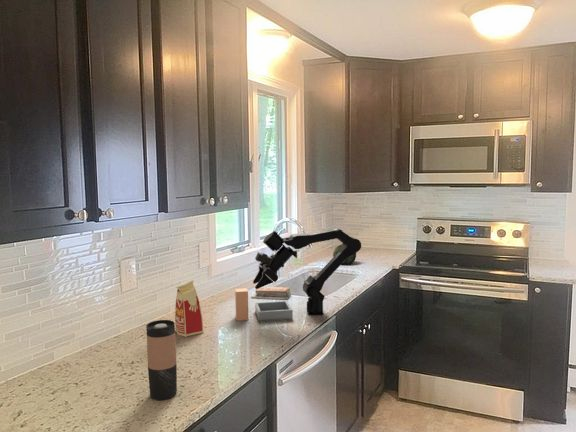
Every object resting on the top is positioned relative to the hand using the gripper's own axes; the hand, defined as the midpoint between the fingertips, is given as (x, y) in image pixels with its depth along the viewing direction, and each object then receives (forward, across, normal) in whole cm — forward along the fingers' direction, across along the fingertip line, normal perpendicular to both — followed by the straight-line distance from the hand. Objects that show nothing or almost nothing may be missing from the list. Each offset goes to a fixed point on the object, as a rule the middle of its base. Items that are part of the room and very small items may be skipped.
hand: (254, 285), depth 197 cm
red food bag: (+29, +12, -9) cm, 33 cm away
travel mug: (+32, +63, -13) cm, 72 cm away
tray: (+4, -1, +15) cm, 16 cm away
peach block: (+14, 0, +6) cm, 15 cm away
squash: (-39, -100, +59) cm, 123 cm away
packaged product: (+2, -32, +18) cm, 37 cm away
